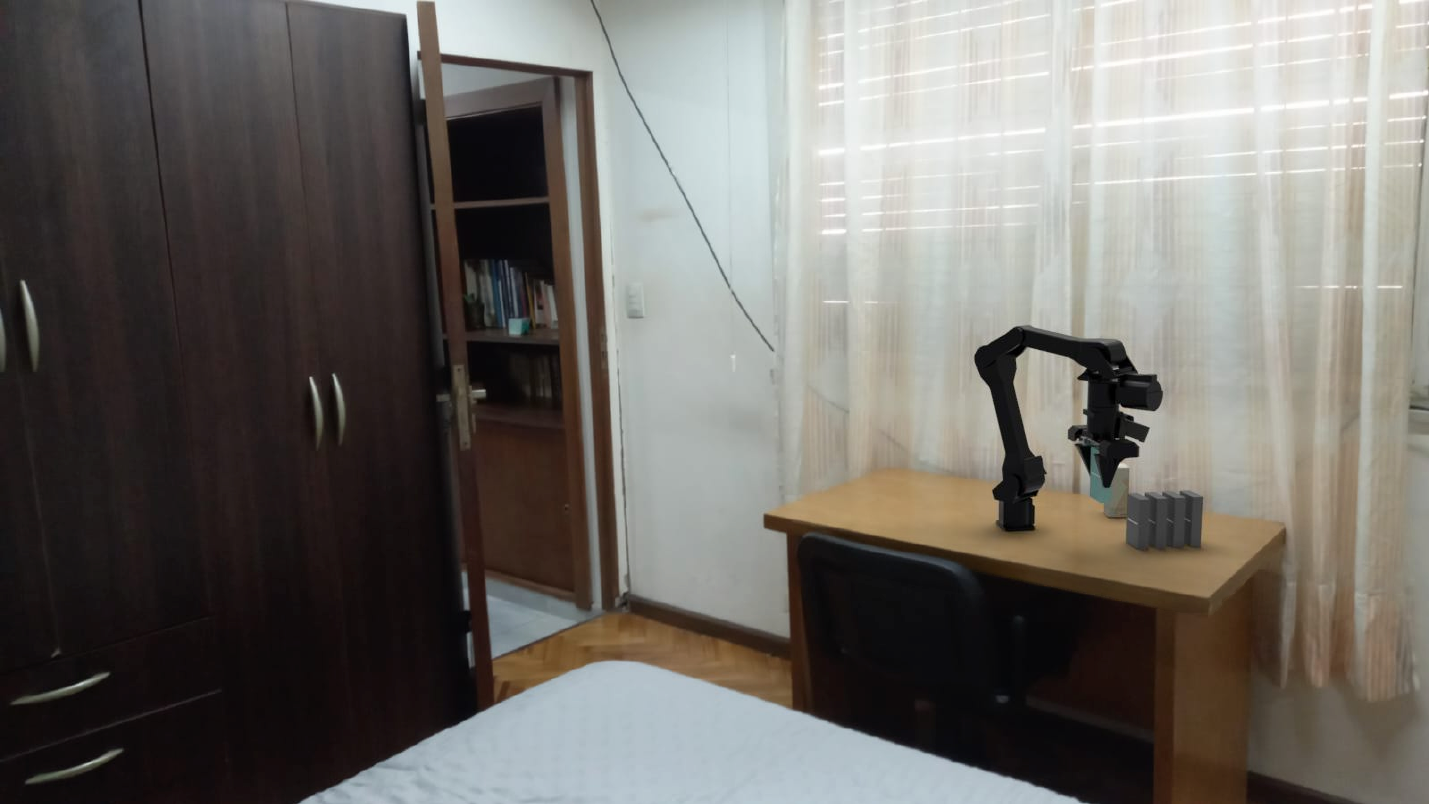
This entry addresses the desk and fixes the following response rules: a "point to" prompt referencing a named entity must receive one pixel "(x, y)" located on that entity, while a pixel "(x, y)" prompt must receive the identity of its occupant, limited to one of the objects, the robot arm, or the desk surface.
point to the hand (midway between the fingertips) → (1100, 484)
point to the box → (1118, 493)
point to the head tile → (1098, 481)
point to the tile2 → (1137, 521)
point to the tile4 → (1175, 519)
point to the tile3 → (1157, 520)
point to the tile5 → (1192, 518)
